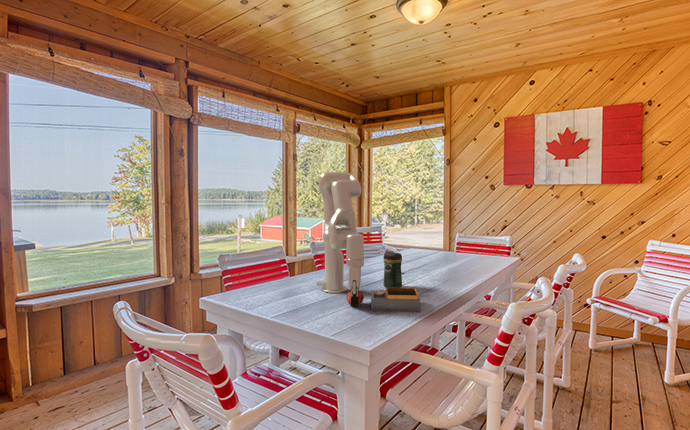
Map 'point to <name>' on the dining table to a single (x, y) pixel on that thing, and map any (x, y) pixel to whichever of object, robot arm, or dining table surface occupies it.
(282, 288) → the dining table surface
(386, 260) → the coffee jar
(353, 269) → the robot arm
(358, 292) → the pomegranate
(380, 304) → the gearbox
